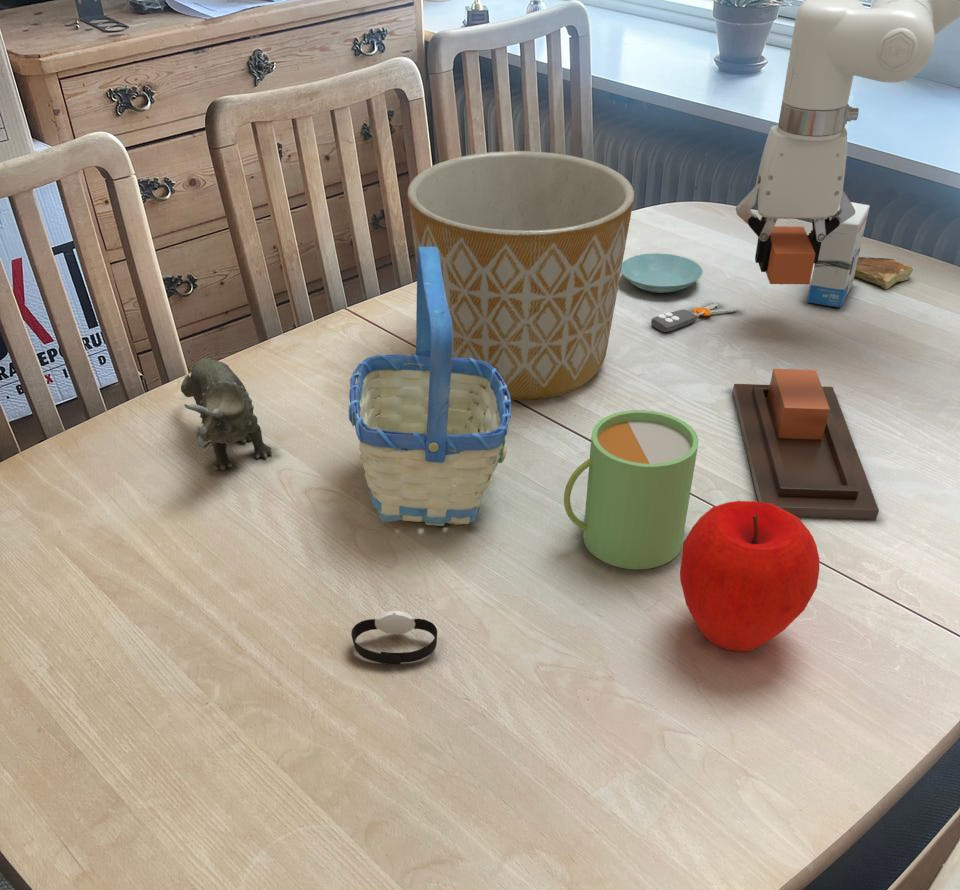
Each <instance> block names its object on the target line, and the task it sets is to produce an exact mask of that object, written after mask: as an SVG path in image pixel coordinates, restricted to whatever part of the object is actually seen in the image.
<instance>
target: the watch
mask: <svg viewBox="0 0 960 890" xmlns="http://www.w3.org/2000/svg"><path fill="white" fill-rule="evenodd" d="M373 630H374V631H375V630H380V631H381V632H383V633H386V634H390V635H402V634H403V635H404V634H406V633H409V632H410V631H413V630H420V631H425V632H428V633H430V635H432V636H433V637H434V638H433V639H432V640H431V642H430V643H428V644H427V645H426V646H424V647H422V648H420V649H419V648H418V649H416V650H413V651H406V652H405V651H404V652H403V651H402V652H389V651H388V652H387V651H380V652H377V651H373V650H369V649H367V648H364V647H362V646H361V645H359V644H358V642H357V638H358V637H359V636H360V635H362V634H363V633H366V632H369V631H373ZM350 636H351V640H352V643H353V647H354V649H355V651H356V652H357V653H358V655H359V656H361V657H362V658H364V659H366V660H368V661H371V662H375V663H380V664H385V665H401V664H403V663H412V662H413V663H414V662H417V661H420V660H422V659H423V660H424V659H425V658H427V657H429V655H430V654H432V653H433V652H434V651H435V649H436V647H437V645H438V644H437V643H438V628H437V627H436V625H435V624H434V623H433V622H431V621H430V620H428V619H423V618H417V617H413V616H412V615H411V614H409V613H407V612H405V611H400V610H389V611H386V612H383V613H381V614H380V615H379V616H378V618H375V617H374V618H371V619H364V620H361V621H360V622H357V623H356V624H355V625H354V626H353V627H352V629H351V635H350Z"/></svg>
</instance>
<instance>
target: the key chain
mask: <svg viewBox="0 0 960 890" xmlns="http://www.w3.org/2000/svg"><path fill="white" fill-rule="evenodd" d="M716 307H717V308H718V307H719V304H718V303H715V302H714V303H711V304H709V305H707V306H705V307H695V308H693V309H692V311H690V310H688V309H678V310H675V311H670V312H669V311H666V312H665V313H664V314H663V313H660V314H658V315H657V316H654V317H652V318H651V325H652V326H653V328H655V329H657V330H658V331H660V332H663V333H667V332H672V331H675V330H678V329H680V328H683V327H686V326H688V325H691V324H693V323H694V322H695V321H696V320H697V318H699V317H700V316H704V317H709V316H711V315H712V314H715V313H716V314H717V313H729V312H738V309H737V308H727V309H715V308H716Z"/></svg>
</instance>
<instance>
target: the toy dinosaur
mask: <svg viewBox="0 0 960 890" xmlns="http://www.w3.org/2000/svg"><path fill="white" fill-rule="evenodd" d="M180 391H181V393H182V394H183V395H184V397H186V398H192V397H193V399H194V402H195V404H187V403H184V404H183V405H184V407H185V408H186V409H187V410H191V411H194V412H197V413H198V414H200V415H199V418H201V424H202V426H201V425H198V426H197V427H196V428H197V429H196V430H197V432H196V439H197V445H198V448H199V449H200V450H202V451H207V450H208V449H210V448H211V447H213V450H214V451H213V452H214V454H215V459H216V460H215V462H214V463H213V464H212V466H213V469H214V471H217V470H221V471H225V470H226V468H233V464H232V462H231V460H230V459H229V456H228V453H227V447H228V444H230V445H231V444H234V443H237V442H239V441H240V443H242V444H246V443H247V441H251V442H252V445H253V450H254V456H255V458H256V459H259V458H261V457H262V458H264V459H267V458H268V456H269V455H270V456H271V455H273V451H272V447H270V446H268V445H266V444H265V443H264V441H263V434H262V429H261V426H260V424H258V417H257V415H255V414H254V410H255V406H254V405H253V399H252V398H251V397H250V393H249V392H248V391H247V389H246V387H245V385H244V384H243V382H242V380H241V379H240V378H239V376H238V375H237V374H236V373H234V371H233V370H232V369H231V368H230V366H229V365H228V364H226V363H225V362H223V361H221V360H216V359H212V358H203V357H202V358H201V359H199V360H198V361H197V362H195V364H193V366H192V369H191V372H190V375H189V374H187V375H185V377H184V379H182V383H181V385H180Z"/></svg>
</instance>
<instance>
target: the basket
mask: <svg viewBox="0 0 960 890" xmlns="http://www.w3.org/2000/svg"><path fill="white" fill-rule="evenodd" d="M415 314H416V315H415V316H416V319H415V320H416V323H415V324H416V325H415V326H416V329H415V330H416V332H415V335H416V336H415V353H411V354H401V353H400V354H399V353H394V354H393V353H391V354H382V353H380V354H376V355H373V356H369V357H366V358H365V359H363V360H362V361H361V362H359V363H358V364H357V366H356V367H355V369H354V370H353V372H352V374H351V376H350V378H349V379H350V380H349V385H350V388H349V392H348V393H349V394H348V398H349V404H348V405H349V406H348V420H349V422H350V423H351V426H352V427H354V430H355V434H356V437H357V439H358V441H359V444H358V445H359V451H360V453H361V454H360V456H359V459H360V463H362V467H363V470H364V471H365V472H364V477H365V481H366V484H367V486H368V488H369V493H370V499H371V500H370V501H371V504H372V506H373V507H374V508H375V509H376V511H377V513H378V516H379V517H378V519H379V520H380V521H381V522H398V521H400V520H401V521H403V522H419V523H421V522H424V523H425V525H428V526H439V527H444V526H445V524H451V525H457V526H458V525H469V524H470V523H473V522H475V521H476V519H477V517H478V515H479V512H480V505H481V504H482V501H483V497H484V492H485V491H486V490H487V489H488V488H489V487H490V484H491V480H492V476H493V474H494V472H495V471H496V468H497V466H498V464H502V463H503V462H504V461H505V459H506V456H507V452H508V451H507V449H508V448H507V446H505V445H506V436H507V435H508V428H509V423H510V420H511V417H512V404H511V403H512V400H511V399H510V393H509V392H508V389H507V385H506V384H505V382H504V380H503V378H502V377H501V375H500V374H499V373H498V372H497V370H496V369H495V368H493V367H492V366H491V365H490V364H488V363H486V362H484V361H481V360H474V359H472V358H454V357H452V347H453V334H452V319H451V315H450V311H449V308H448V304H447V299H446V295H445V290H444V284H443V277H442V270H441V264H440V257H439V252H438V248H437V247H418V251H417V265H416V313H415ZM480 376H481V377H480ZM480 385H481V386H483V387H486V388H485V389H483V387H481V386H480ZM470 392H473V393H470ZM475 393H476V394H475ZM477 394H478V395H477Z"/></svg>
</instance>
